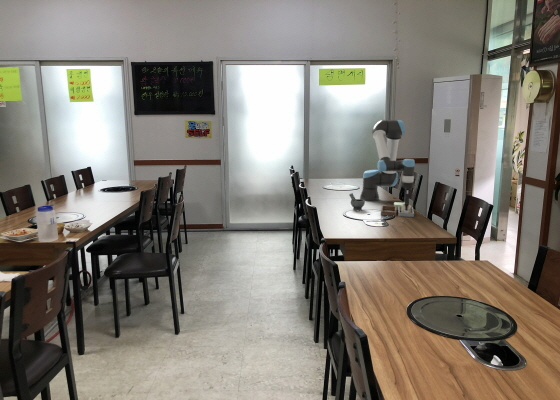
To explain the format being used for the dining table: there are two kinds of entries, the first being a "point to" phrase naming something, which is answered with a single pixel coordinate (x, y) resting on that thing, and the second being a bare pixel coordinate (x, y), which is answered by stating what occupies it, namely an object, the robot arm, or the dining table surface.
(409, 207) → the letter cube
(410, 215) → the tray grey
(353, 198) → the mortar and pestle
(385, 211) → the tray walnut
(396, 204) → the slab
